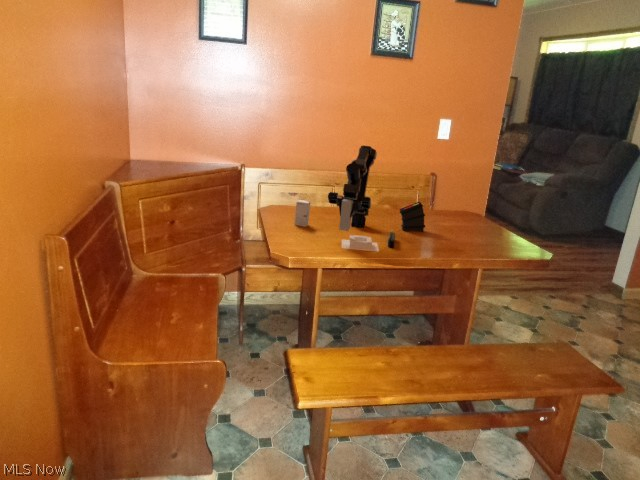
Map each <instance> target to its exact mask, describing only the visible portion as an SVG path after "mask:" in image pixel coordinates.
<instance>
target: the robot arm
mask: <svg viewBox="0 0 640 480" xmlns="http://www.w3.org/2000/svg"><path fill="white" fill-rule="evenodd" d="M377 153H378V152H377V150H376V149H374V148H372V146H371V145H363V144H362V145H360V147H359V149H358V155H357V157H356V159H354V160H352V161H351V162H350V163H349V164H347V165H346V167H345V168H346V169H345V170H346V178H347V179H348V180H347V183H343V187H342V188H343V189H342V191H343V192H342V195H339V193H338V192H334V191H330V192H328V195H327V199H328V203H329V204H331V205H332V204H334V205H336V206H337V207H339V208H338V209H339V217H341V206H342V200H343V199H349V200H353V206H352V210H351V213H350V218H351V224H350V227H352V228H354V227H355V228H365V227H366V219H367V216H369V212H370V211H369V210H370V209H371V207H372V199H371V197H369V196H366V194H367V187H368V183H369V181H368V180H369V176H370V170H371V168H372V166H373V165H374V164H375V160H376V159H377V155H378V154H377Z"/></svg>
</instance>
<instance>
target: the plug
mask: <svg viewBox="0 0 640 480" xmlns="http://www.w3.org/2000/svg"><path fill="white" fill-rule="evenodd" d="M352 206H353V200H349V199H343V200H342V206H341V216H339V217H340V218H339V229H338V230H339V231H345V232H349V231H350V229H351V222H352V217H351V218H350V213H351V210H352Z"/></svg>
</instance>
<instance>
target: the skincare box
mask: <svg viewBox="0 0 640 480" xmlns="http://www.w3.org/2000/svg"><path fill="white" fill-rule="evenodd" d="M310 211H311V201H308V200H303V199H299V200H296V205H295V217H294V225H295V226H299V227H304V228H305V227H307V226H308V225H309V221H310V220H309V219H310Z"/></svg>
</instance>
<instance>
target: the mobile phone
mask: <svg viewBox="0 0 640 480" xmlns="http://www.w3.org/2000/svg"><path fill="white" fill-rule="evenodd" d="M395 240H396V233H395V232H393V231H392V232H390V233H389V234H388V239H387V247H388V248H389V249H394V248H395Z"/></svg>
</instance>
